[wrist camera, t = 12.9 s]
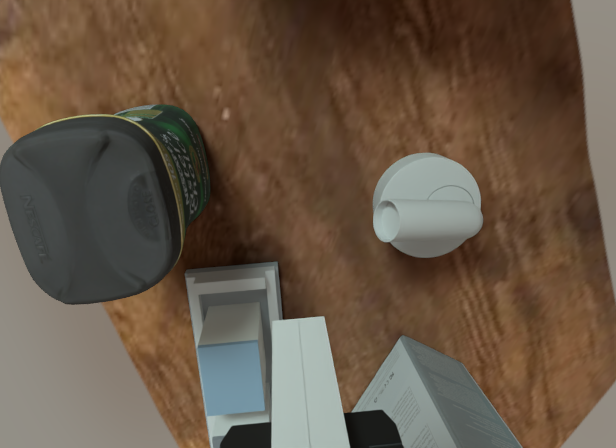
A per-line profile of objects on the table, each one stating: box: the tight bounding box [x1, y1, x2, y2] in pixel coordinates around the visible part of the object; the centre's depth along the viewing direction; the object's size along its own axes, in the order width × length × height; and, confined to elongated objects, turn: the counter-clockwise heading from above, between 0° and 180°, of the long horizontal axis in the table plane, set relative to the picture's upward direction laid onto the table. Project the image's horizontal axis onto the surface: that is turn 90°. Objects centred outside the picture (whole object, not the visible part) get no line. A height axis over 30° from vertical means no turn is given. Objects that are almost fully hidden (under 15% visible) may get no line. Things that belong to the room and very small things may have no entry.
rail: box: [185, 262, 283, 448], centre depth 44 cm, size 18×8×3 cm, turn 4°
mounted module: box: [212, 382, 272, 448], centre depth 43 cm, size 6×4×7 cm
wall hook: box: [373, 153, 483, 258], centre depth 38 cm, size 9×10×10 cm
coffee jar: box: [0, 105, 210, 305], centre depth 31 cm, size 10×8×19 cm
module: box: [197, 302, 266, 416], centre depth 41 cm, size 6×4×7 cm
